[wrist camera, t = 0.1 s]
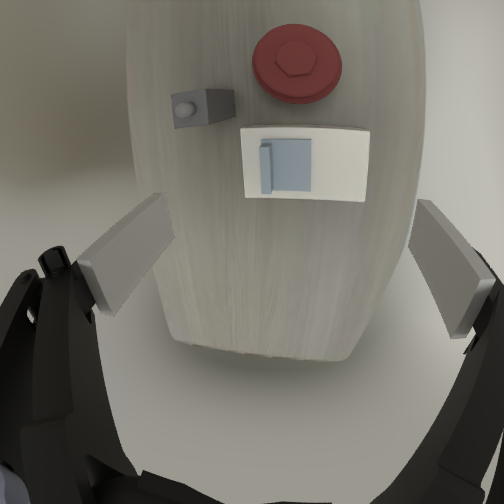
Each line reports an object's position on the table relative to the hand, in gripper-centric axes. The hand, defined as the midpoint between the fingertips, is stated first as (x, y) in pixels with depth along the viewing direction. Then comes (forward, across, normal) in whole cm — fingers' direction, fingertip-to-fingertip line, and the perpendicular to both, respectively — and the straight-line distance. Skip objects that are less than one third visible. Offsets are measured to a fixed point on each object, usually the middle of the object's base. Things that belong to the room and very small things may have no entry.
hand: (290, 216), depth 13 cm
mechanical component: (+28, 0, +10) cm, 30 cm away
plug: (+28, -11, +5) cm, 31 cm away
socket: (+28, +1, -3) cm, 28 cm away
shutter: (+24, -2, -3) cm, 24 cm away
